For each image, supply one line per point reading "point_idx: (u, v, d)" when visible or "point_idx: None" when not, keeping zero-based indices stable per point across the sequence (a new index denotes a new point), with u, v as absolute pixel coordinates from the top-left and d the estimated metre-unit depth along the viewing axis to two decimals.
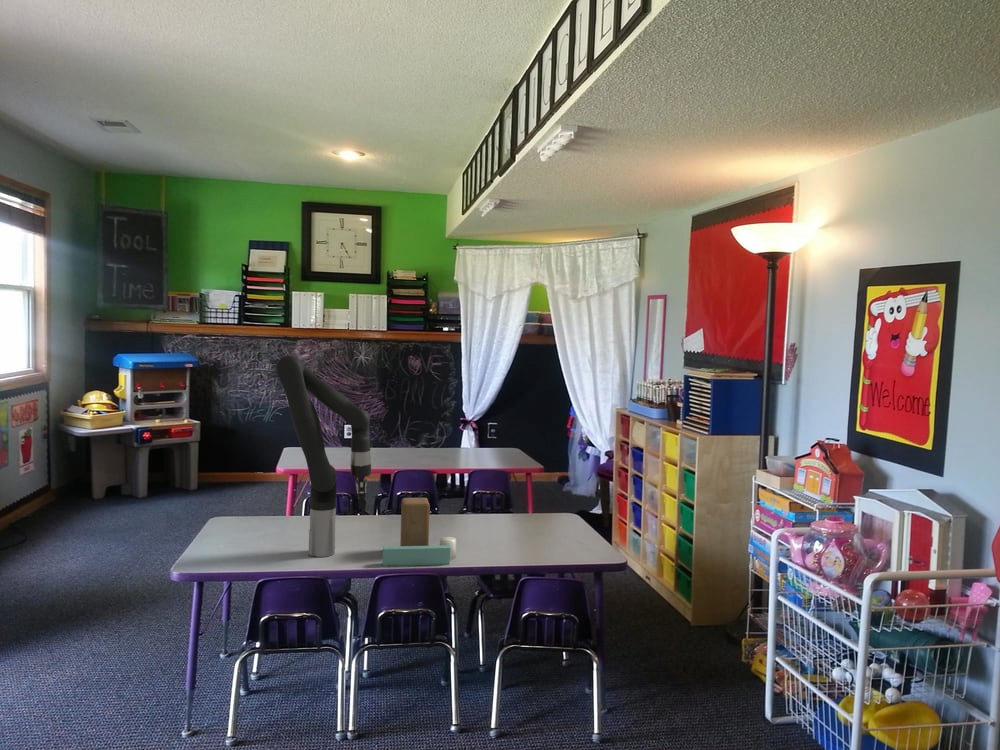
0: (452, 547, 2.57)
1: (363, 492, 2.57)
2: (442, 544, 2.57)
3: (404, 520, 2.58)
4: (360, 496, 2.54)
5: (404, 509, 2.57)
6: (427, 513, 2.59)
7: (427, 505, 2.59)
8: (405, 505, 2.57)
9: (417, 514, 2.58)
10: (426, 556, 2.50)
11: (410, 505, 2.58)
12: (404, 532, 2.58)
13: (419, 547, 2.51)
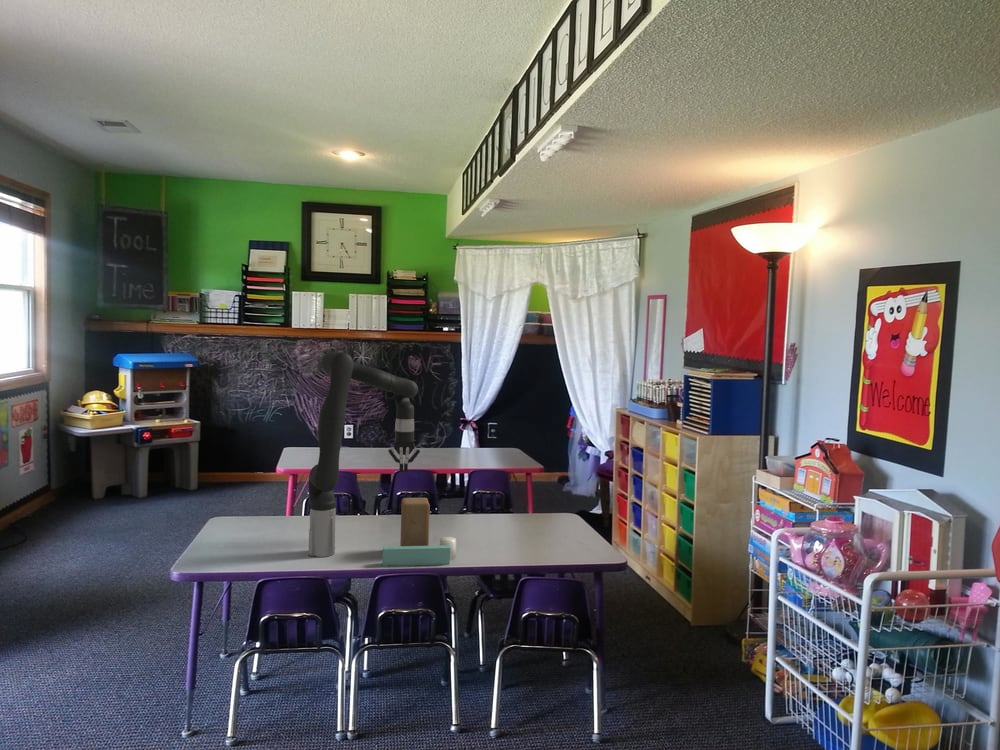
0: (452, 547, 2.57)
1: None
2: (442, 544, 2.57)
3: (404, 520, 2.58)
4: None
5: (404, 509, 2.57)
6: (427, 513, 2.59)
7: (427, 505, 2.59)
8: (405, 505, 2.57)
9: (417, 514, 2.58)
10: (426, 556, 2.50)
11: (410, 505, 2.58)
12: (404, 532, 2.58)
13: (419, 547, 2.51)
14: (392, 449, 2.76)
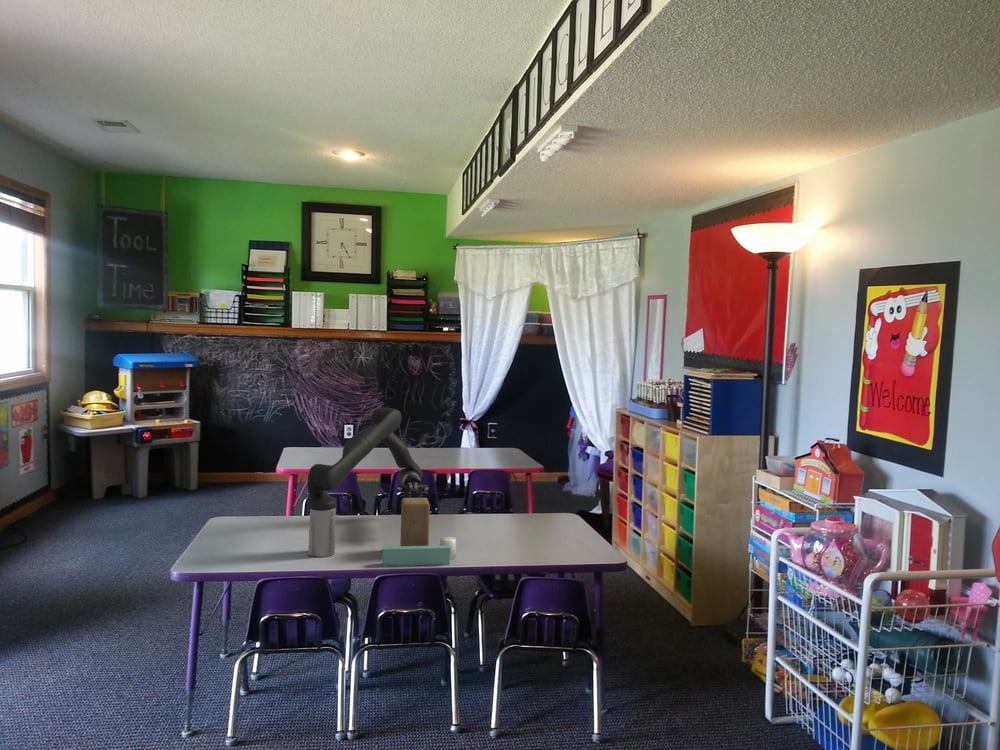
0: (452, 547, 2.57)
1: None
2: (442, 544, 2.57)
3: (404, 520, 2.58)
4: None
5: (404, 509, 2.57)
6: (427, 513, 2.59)
7: (427, 505, 2.59)
8: (405, 505, 2.57)
9: (417, 514, 2.58)
10: (426, 556, 2.50)
11: (410, 505, 2.58)
12: (404, 532, 2.58)
13: (419, 547, 2.51)
14: None
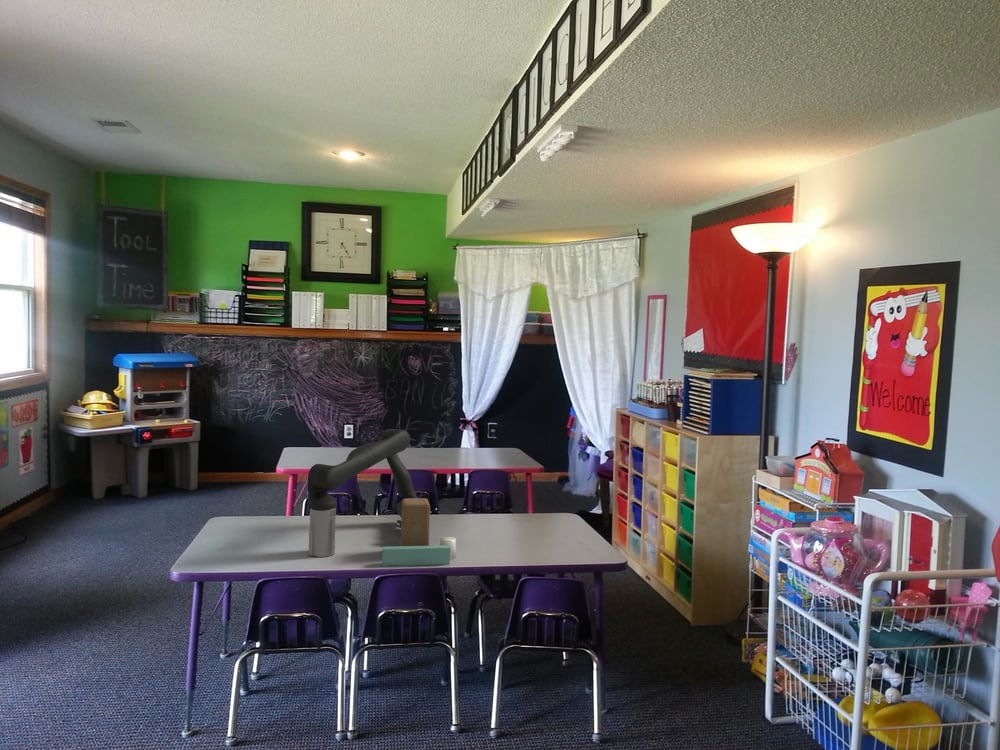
0: (452, 547, 2.57)
1: None
2: (442, 544, 2.57)
3: (404, 521, 2.56)
4: None
5: (404, 510, 2.56)
6: (427, 514, 2.58)
7: (427, 506, 2.58)
8: (405, 506, 2.56)
9: (417, 514, 2.57)
10: (426, 556, 2.50)
11: (410, 506, 2.56)
12: (404, 533, 2.57)
13: (419, 547, 2.51)
14: (400, 521, 2.76)
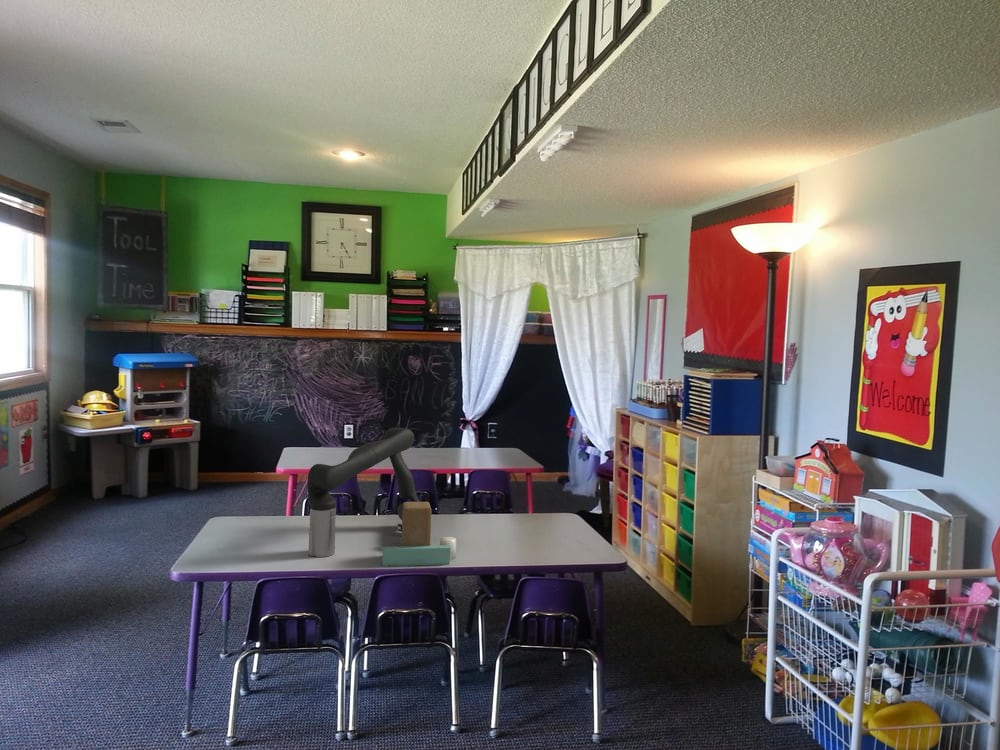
0: (452, 547, 2.57)
1: None
2: (442, 544, 2.57)
3: (405, 525, 2.51)
4: None
5: (405, 513, 2.51)
6: (429, 518, 2.53)
7: (429, 509, 2.53)
8: (406, 509, 2.51)
9: (418, 518, 2.52)
10: (426, 556, 2.50)
11: (411, 509, 2.51)
12: (405, 537, 2.52)
13: (419, 547, 2.51)
14: (401, 525, 2.70)
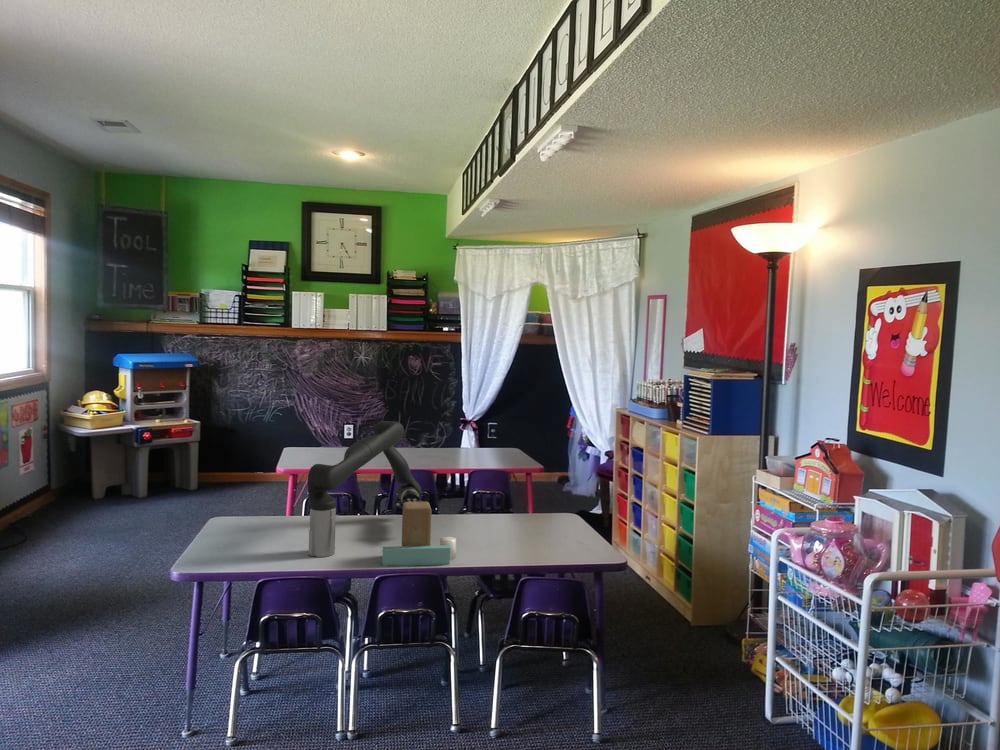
0: (452, 547, 2.57)
1: None
2: (442, 544, 2.57)
3: (405, 525, 2.51)
4: None
5: (405, 514, 2.51)
6: (429, 518, 2.53)
7: (429, 510, 2.52)
8: (406, 509, 2.51)
9: (418, 518, 2.52)
10: (426, 556, 2.50)
11: (411, 509, 2.51)
12: (405, 537, 2.51)
13: (419, 547, 2.51)
14: None
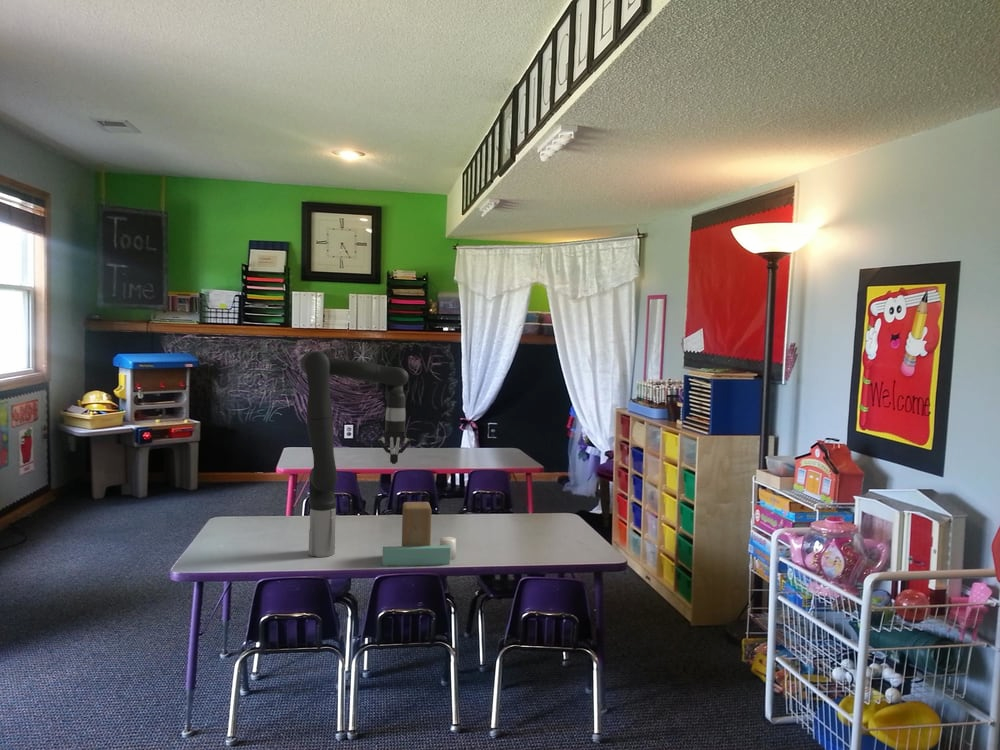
0: (452, 547, 2.57)
1: None
2: (442, 544, 2.57)
3: (405, 525, 2.51)
4: None
5: (405, 514, 2.51)
6: (429, 518, 2.53)
7: (429, 510, 2.52)
8: (406, 509, 2.51)
9: (418, 518, 2.52)
10: (426, 556, 2.50)
11: (411, 509, 2.51)
12: (405, 537, 2.51)
13: (419, 547, 2.51)
14: (382, 439, 2.67)
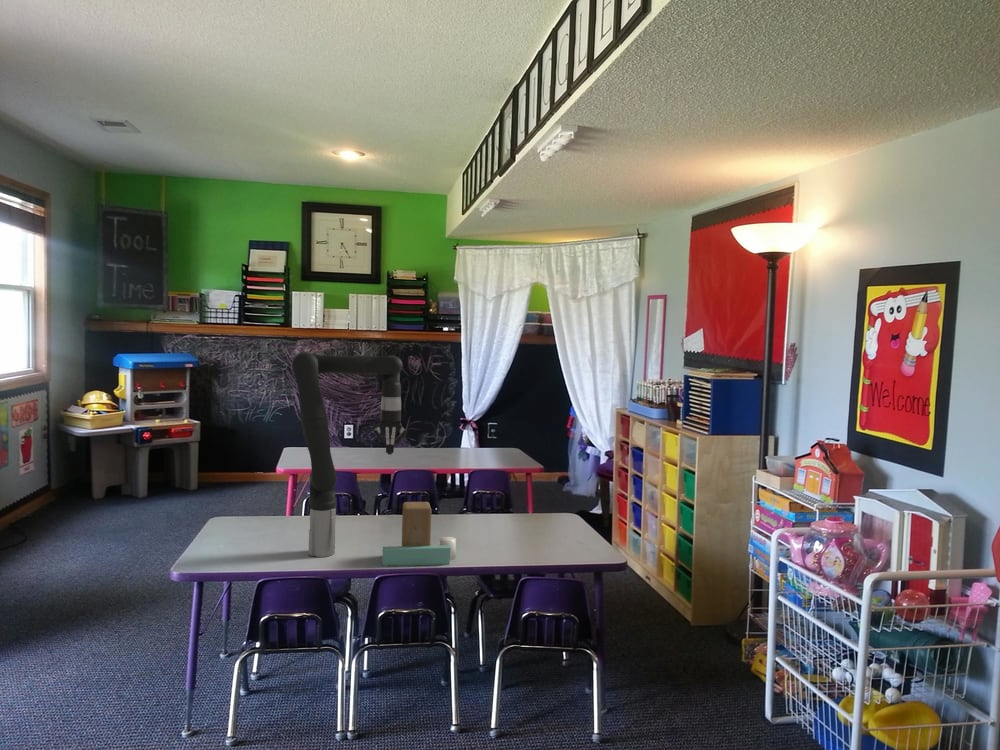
0: (452, 547, 2.57)
1: None
2: (442, 544, 2.57)
3: (405, 525, 2.51)
4: (398, 440, 2.63)
5: (405, 514, 2.51)
6: (429, 518, 2.53)
7: (429, 509, 2.52)
8: (406, 509, 2.51)
9: (418, 518, 2.52)
10: (426, 556, 2.50)
11: (411, 509, 2.51)
12: (405, 537, 2.51)
13: (419, 547, 2.51)
14: (378, 429, 2.61)
